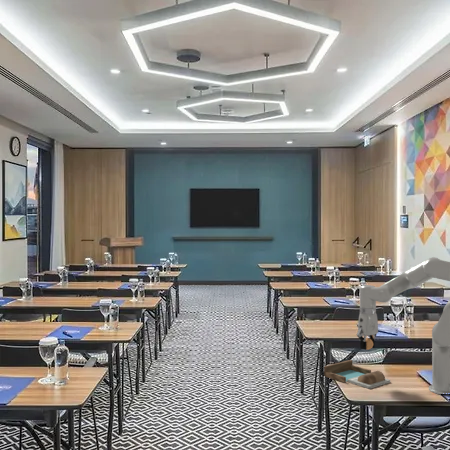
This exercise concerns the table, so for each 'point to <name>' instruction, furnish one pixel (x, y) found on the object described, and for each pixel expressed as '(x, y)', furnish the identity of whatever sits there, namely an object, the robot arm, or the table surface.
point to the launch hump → (371, 377)
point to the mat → (350, 374)
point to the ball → (369, 343)
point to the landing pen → (342, 370)
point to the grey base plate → (354, 381)
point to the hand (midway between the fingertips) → (367, 347)
